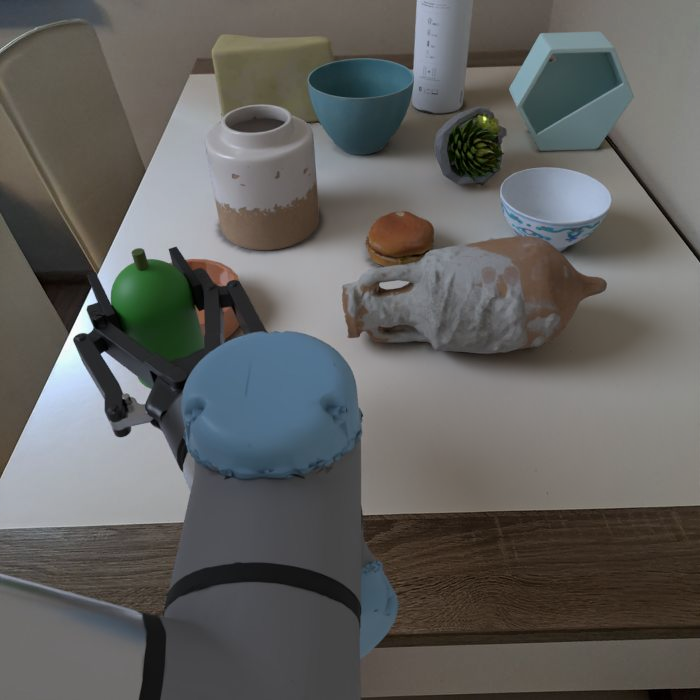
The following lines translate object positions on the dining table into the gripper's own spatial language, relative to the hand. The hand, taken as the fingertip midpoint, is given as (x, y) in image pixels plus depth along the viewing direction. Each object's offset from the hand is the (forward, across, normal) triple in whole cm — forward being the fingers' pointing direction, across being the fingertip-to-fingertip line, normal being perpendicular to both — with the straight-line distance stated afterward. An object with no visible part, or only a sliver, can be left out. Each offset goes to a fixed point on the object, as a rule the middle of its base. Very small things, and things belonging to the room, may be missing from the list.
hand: (136, 272), depth 58 cm
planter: (+28, +82, -20) cm, 88 cm away
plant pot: (+46, +50, -20) cm, 71 cm away
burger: (+14, +38, -20) cm, 45 cm away
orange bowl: (+16, +7, -20) cm, 27 cm away
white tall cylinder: (+53, +72, -20) cm, 92 cm away
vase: (+31, +25, -20) cm, 45 cm away
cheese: (+64, +43, -20) cm, 80 cm away
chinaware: (+5, +58, -20) cm, 61 cm away
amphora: (-6, +35, -20) cm, 41 cm away
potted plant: (+25, +60, -20) cm, 68 cm away
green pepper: (-5, 0, -8) cm, 9 cm away
